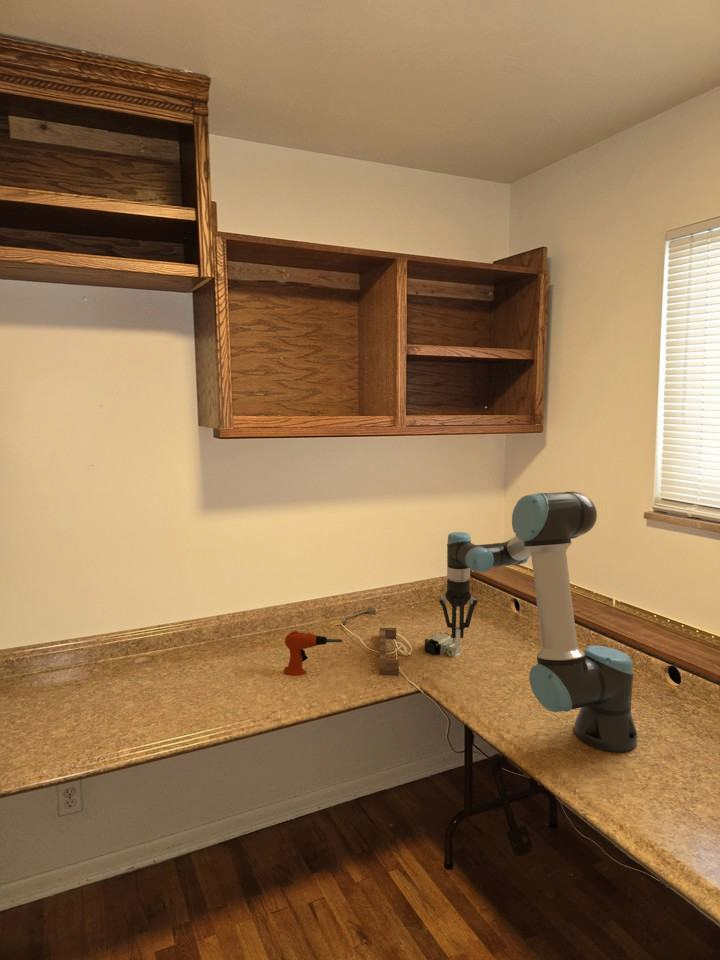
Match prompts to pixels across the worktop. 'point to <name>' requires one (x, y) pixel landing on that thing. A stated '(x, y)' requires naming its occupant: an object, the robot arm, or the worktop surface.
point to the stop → (385, 665)
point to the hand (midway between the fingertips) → (457, 646)
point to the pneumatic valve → (441, 645)
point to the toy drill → (301, 650)
